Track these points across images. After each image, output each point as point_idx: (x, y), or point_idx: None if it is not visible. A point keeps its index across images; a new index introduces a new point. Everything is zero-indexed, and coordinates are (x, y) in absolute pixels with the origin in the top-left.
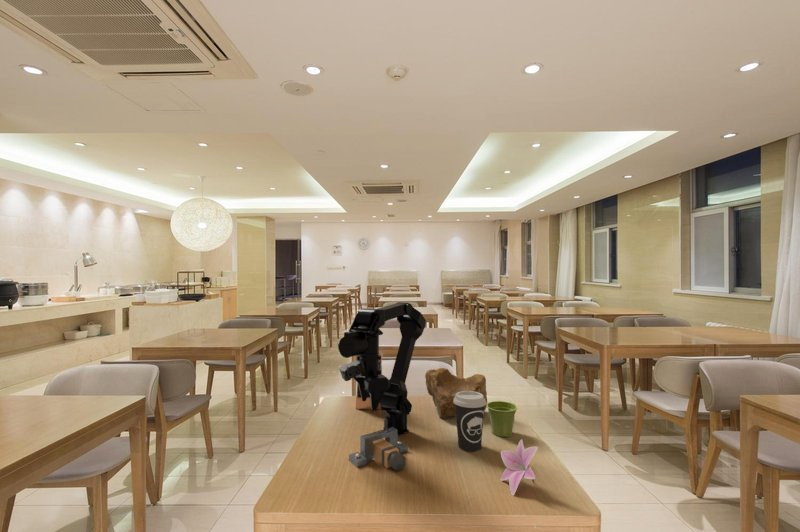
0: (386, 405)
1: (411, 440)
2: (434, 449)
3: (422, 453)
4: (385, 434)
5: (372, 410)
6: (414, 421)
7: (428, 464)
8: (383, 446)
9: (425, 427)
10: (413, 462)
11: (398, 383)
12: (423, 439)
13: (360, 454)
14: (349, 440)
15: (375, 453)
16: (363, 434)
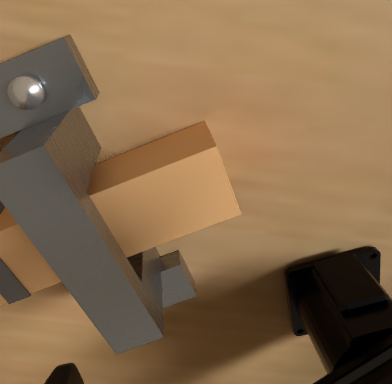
0: (384, 377)
1: (220, 327)
2: (124, 379)
3: (98, 345)
4: (76, 292)
5: (52, 372)
6: None
7: (5, 350)
8: (25, 248)
9: (314, 377)
10: (23, 310)
11: None
12: (215, 361)
13: (25, 109)
14: (320, 65)
15: None
16: (217, 160)
